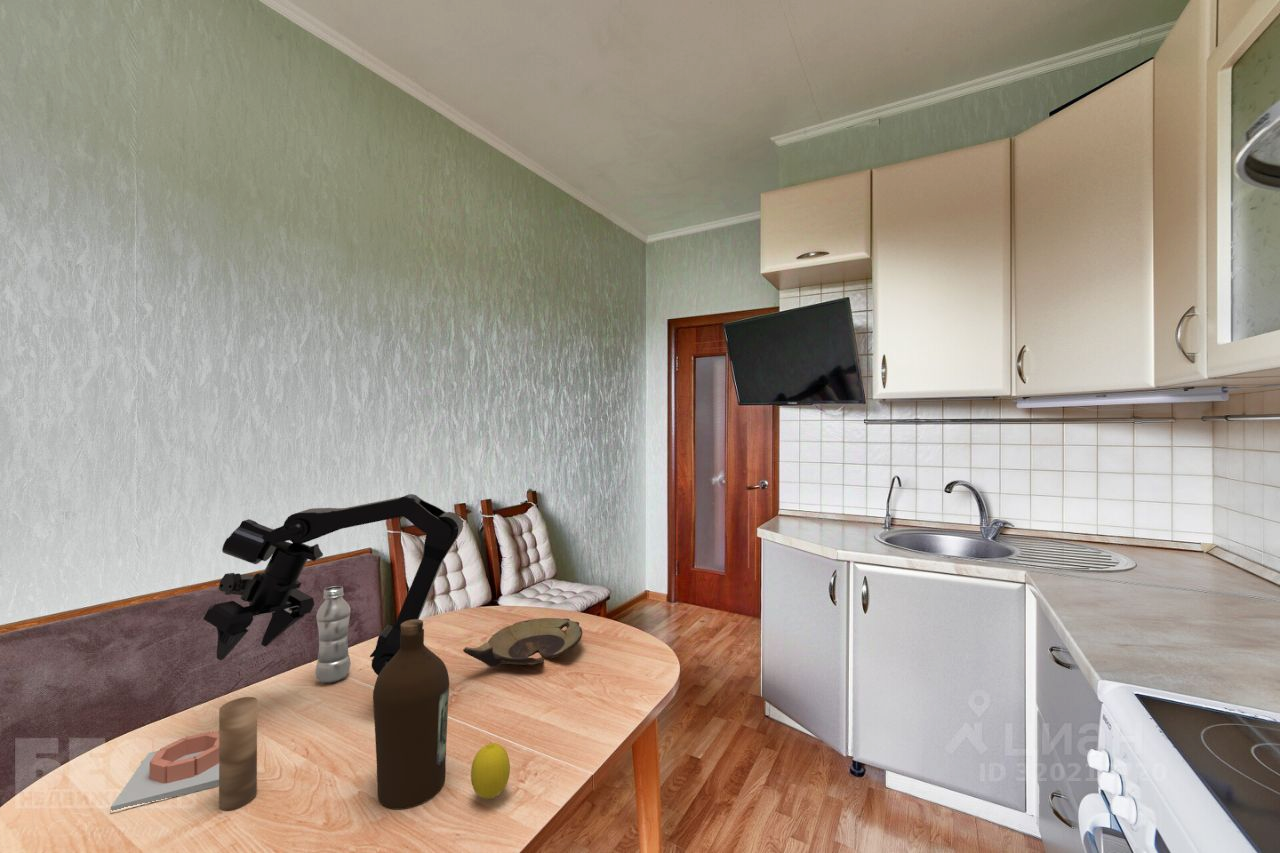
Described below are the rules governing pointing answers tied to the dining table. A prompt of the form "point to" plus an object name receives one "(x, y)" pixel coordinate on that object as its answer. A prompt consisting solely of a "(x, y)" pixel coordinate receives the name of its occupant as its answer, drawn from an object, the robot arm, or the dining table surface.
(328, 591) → the plastic bottle
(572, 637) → the oil lamp
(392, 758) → the olive oil
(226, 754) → the walnut peg
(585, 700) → the dining table surface
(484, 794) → the lemon
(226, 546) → the robot arm
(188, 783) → the band dock
